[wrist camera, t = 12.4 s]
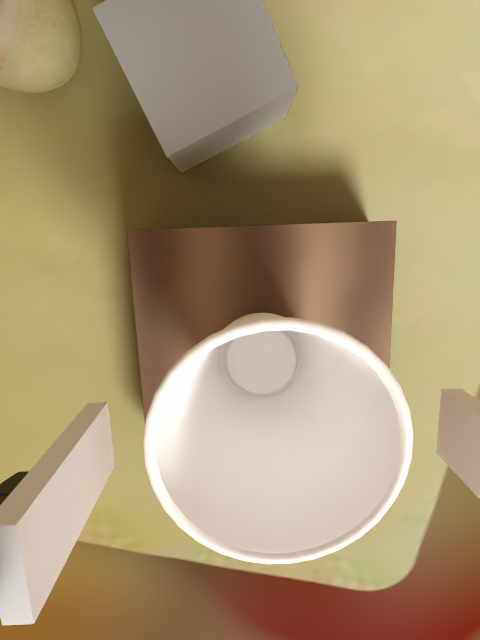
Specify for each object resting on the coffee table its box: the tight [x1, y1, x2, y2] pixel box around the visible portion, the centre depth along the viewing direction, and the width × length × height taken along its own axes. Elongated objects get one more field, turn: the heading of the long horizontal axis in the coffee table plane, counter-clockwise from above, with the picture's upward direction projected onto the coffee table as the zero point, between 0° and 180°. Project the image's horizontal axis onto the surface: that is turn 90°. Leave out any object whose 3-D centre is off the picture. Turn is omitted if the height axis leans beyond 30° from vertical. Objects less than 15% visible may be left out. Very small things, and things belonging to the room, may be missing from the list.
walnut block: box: [127, 221, 397, 423], centre depth 27 cm, size 16×16×5 cm
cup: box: [143, 313, 413, 564], centre depth 20 cm, size 10×10×11 cm
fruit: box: [0, 0, 82, 93], centre depth 22 cm, size 8×7×8 cm
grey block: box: [92, 0, 298, 173], centre depth 24 cm, size 8×8×6 cm
